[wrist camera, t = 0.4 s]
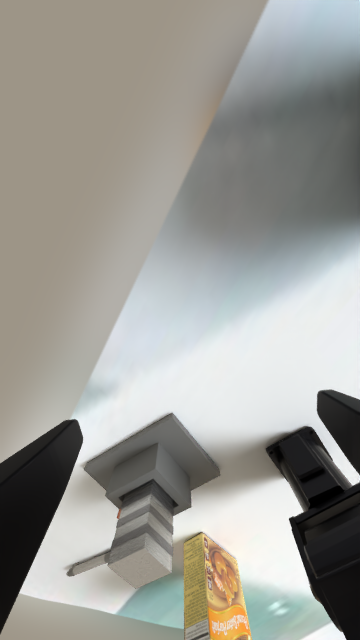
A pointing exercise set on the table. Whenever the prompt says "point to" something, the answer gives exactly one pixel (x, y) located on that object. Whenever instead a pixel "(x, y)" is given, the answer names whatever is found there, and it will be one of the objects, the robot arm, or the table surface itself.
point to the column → (144, 535)
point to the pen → (89, 564)
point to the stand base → (155, 464)
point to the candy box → (212, 593)
